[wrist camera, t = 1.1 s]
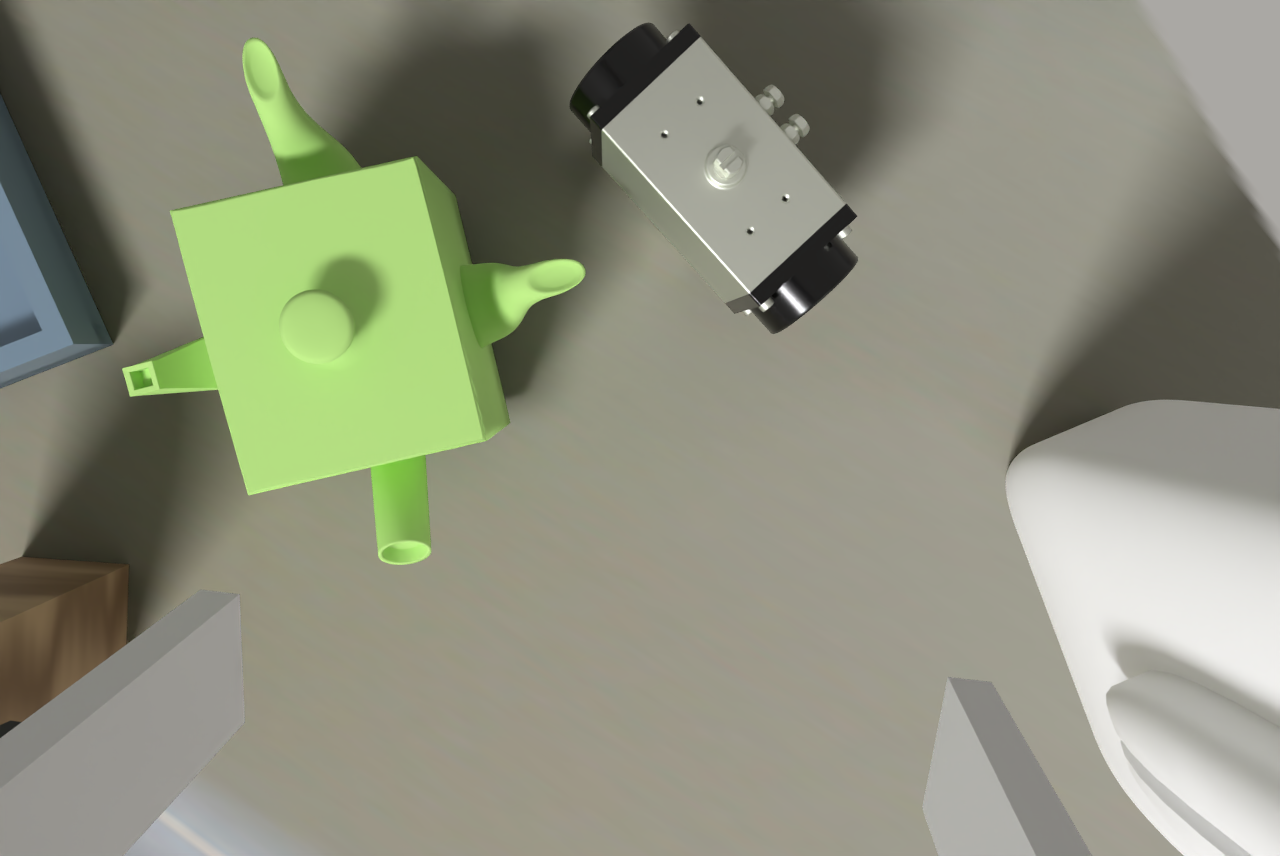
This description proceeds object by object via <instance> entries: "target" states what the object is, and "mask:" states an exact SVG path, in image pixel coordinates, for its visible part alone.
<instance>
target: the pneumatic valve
mask: <svg viewBox="0 0 1280 856" xmlns="http://www.w3.org/2000/svg"><path fill="white" fill-rule="evenodd" d="M763 92H764V95H763V94H760V95H757V96H756V97H755V98H754V97H753V96H752V95H751V94H750V92H749V91H748V90H747V89H746V88H745V87H744V86H743V84H742V83H741V82H740V81H739V80H738V79H737V78H736V76H735V75H734V74H733V73H732V72H731V71H730V69H729V68H728V67H727V66H726V65H725V64H724V63H723V61H722V60H721V59H720V58H719V57H718V56H717V55H716V53H715V52H714V51H713V50H712V49H711V48H710V47H709V45H708V44H707V43H706V42H705V41H704V40H703V39H702V37H701V36H700V35H699V34H698V33H697V32H696V30H695V29H694V28H693V27H692V26H691V25H690V24H687V25H686V26H685V27H684V28H683V29H682V30H681V31H680V32H679V31H678V30H675V31H674V32H672V33H671V34H670V35H669V37H668V38H667V39H666V38H665V37H664V36H663V35H662V34H661V32H660V31H659V30H658V29H657V28H656V27H655V25H654V24H652V23H644V24H642V25H640V26H638V27H636V28H634V29H633V30H631V31H630V32H629V33H627V34H626V35H625V36H623V37H622V38H621V39H620V40H618V41H617V42H616V43H615V44H614V45H613V46H612V47H611V48H610V49H609V50H608V51H607V52H606V53H605V54H604V55H603V56H602V57H601V58H600V59H599V60H598V61H597V62H596V63H595V64H594V66H593V67H592V68H591V69H590V70H589V71H588V73H587V74H586V75H585V77H584V78H583V79H582V81H581V82H580V84H579V85H578V87H577V88H576V90H575V91H574V93H573V95H572V98H571V100H570V104H569V107H570V110H571V111H572V112H573V113H574V115H575V116H576V117H577V118H578V119H579V120H580V121H581V122H582V123H583V124H584V126H585V127H586V128H587V129H588V130H589V131H590V132H591V139H590V140H589V142H590V144H591V145H592V156H593V157H594V159H595V160H596V161H597V162H598V163H599V164H600V165H601V166H602V167H603V169H604V170H605V171H606V172H607V173H608V174H609V175H610V176H611V177H612V179H613V180H614V181H615V182H616V183H617V184H618V185H619V186H620V187H621V188H622V190H623V191H624V192H625V193H626V194H627V195H628V196H629V197H630V198H631V200H632V201H633V202H634V203H635V204H636V205H637V206H638V207H639V208H640V210H641V211H642V212H643V213H644V214H645V215H646V216H647V217H648V218H649V220H650V221H651V222H652V223H653V224H654V225H655V226H656V227H657V228H658V230H659V231H660V232H661V233H662V234H663V235H664V236H665V237H666V238H667V239H668V241H669V242H670V243H671V244H672V245H673V246H674V247H675V248H676V249H677V251H678V252H679V253H680V254H681V255H682V256H683V257H684V258H685V259H686V261H687V262H688V263H689V264H690V265H691V266H692V267H693V268H694V269H695V271H696V272H697V273H698V274H699V275H700V276H701V277H702V278H703V279H704V281H705V282H706V283H707V284H708V285H709V286H710V287H711V288H712V289H713V290H714V292H715V293H716V294H717V295H718V296H719V297H720V298H721V299H722V300H723V302H724V303H725V304H726V305H727V306H728V307H729V308H730V309H731V310H732V312H733V313H734V314H735V313H739V312H743V313H744V315H745V316H748V315H749V314H750V313H751V312H753V314H754V315H755V316H756V317H757V318H758V319H759V320H760V321H761V322H762V324H763V325H764V326H765V327H766V328H767V329H768V330H769V331H770V333H772V334H775V333H778V332H780V331H782V330H784V329H785V328H787V327H788V326H790V325H791V324H792V323H794V322H795V321H797V320H798V319H799V318H800V317H802V316H803V315H804V314H805V313H807V312H808V311H809V310H810V309H812V308H813V307H814V306H815V305H816V304H817V303H819V302H820V301H821V300H822V299H823V298H824V297H825V296H826V295H827V294H829V293H830V292H831V291H832V290H833V289H834V288H835V287H836V286H837V285H838V284H839V283H840V282H841V281H842V280H843V279H844V278H845V277H846V276H847V275H848V274H849V272H850V271H851V270H852V269H853V268H854V266H855V265H856V263H857V261H858V257H857V256H856V255H855V254H854V253H853V251H852V250H851V249H850V248H849V247H848V246H847V245H846V243H845V242H844V241H843V239H844V238H845V237H846V236H847V235H849V234H850V233H851V231H852V229H851V228H850V227H849V226H848V225H849V224H850V223H851V222H852V221H853V220H854V219H855V218H856V217H857V215H856V214H855V213H854V212H853V211H852V209H851V208H850V207H849V206H848V205H847V204H846V203H845V201H844V200H843V199H842V198H841V197H840V196H839V195H838V193H837V192H836V191H835V190H834V189H833V188H832V187H831V185H830V184H829V183H828V182H827V181H826V180H825V178H824V177H823V176H822V175H821V174H820V173H819V172H818V170H817V169H816V168H815V167H814V166H813V165H812V164H811V162H810V161H809V160H808V159H807V158H806V157H805V156H804V154H803V153H802V152H801V151H800V150H799V149H798V148H797V146H796V144H797V143H798V142H799V139H800V137H799V136H802V137H804V136H806V135H807V134H808V132H809V129H810V128H809V125H808V123H807V122H806V120H805V119H804V118H803V117H802V116H801V115H799V114H794V115H792V116H791V117H790V118H789V119H788V121H789V124H788V123H785V124H782V125H781V126H780V127H779V126H778V125H777V123H776V122H775V121H774V120H773V119H772V118H771V117H770V116H771V115H772V114H773V113H774V107H776V108H780V107H781V106H782V105H783V103H784V96H783V94H782V93H781V92H780V90H779V89H778V88H777V87H776V86H774V85H769V86H767V87H766V88H765V89H764V90H763Z"/></svg>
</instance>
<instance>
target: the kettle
mask: <svg viewBox="0 0 1280 856" xmlns="http://www.w3.org/2000/svg"><path fill="white" fill-rule="evenodd" d="M243 70H244V75H245V80H246V83H247V86H248V89H249V92H250V95H251V97H252V100H253V102H254V104H255V107H256V109H257V111H258V114H259V116H260V119H261V121H262V123H263V126H264V128H265V131H266V133H267V136H268V138H269V141H270V144H271V146H272V149H273V152H274V155H275V158H276V161H277V164H278V168H279V171H280V175H281V178H282V182H283V186H279V187H274V188H270V189H265V190H261V191H256V192H252V193H247V194H243V195H238V196H234V197H229V198H225V199H220V200H216V201H211V202H207V203H202V204H198V205H193V206H189V207H184V208H180V209H175V210H171V211H170V213H171V216H172V220H173V224H174V227H175V231H176V235H177V239H178V243H179V247H180V250H181V254H182V258H183V262H184V266H185V269H186V273H187V277H188V281H189V284H190V288H191V292H192V296H193V299H194V303H195V307H196V310H197V314H198V318H199V321H200V325H201V329H202V333H203V336H204V337H202V338H199V339H197V340H195V341H192V342H190V343H187V344H185V345H182V346H180V347H178V348H175V349H173V350H170V351H168V352H165V353H163V354H160V355H158V356H156V357H153V358H151V359H148V360H146V361H143V362H141V363H138V364H136V365H133V366H129V367H126V368H122V370H123V373H124V377H125V380H126V384H127V387H128V391H129V394H130V397H131V396H141V395H154V394H167V393H181V392H194V391H207V390H219V394H220V398H221V401H222V405H223V408H224V412H225V415H226V419H227V423H228V426H229V430H230V433H231V437H232V440H233V444H234V447H235V451H236V454H237V458H238V461H239V465H240V468H241V471H242V475H243V478H244V482H245V486H246V489H247V493H248V495H252V494H256V493H261V492H265V491H269V490H274V489H278V488H282V487H287V486H291V485H296V484H300V483H304V482H309V481H313V480H317V479H322V478H326V477H331V476H335V475H339V474H344V473H348V472H352V471H357V470H361V469H366V468H370V467H371V478H372V489H373V500H374V512H375V523H376V534H377V545H378V557H379V558H380V560H382V561H383V562H386V563H389V564H395V565H405V564H412V563H416V562H419V561H422V560H424V559H426V558H427V557H428V556H429V555H430V554H431V538H430V522H429V506H428V490H427V474H426V458H425V455H427V454H431V453H436V452H440V451H444V450H449V449H453V448H457V447H462V446H466V445H470V444H475V443H479V442H484V441H487V440H488V439H490V438H491V437H492V436H494V435H495V434H496V433H498V432H499V431H500V430H502V429H503V428H504V427H506V426H507V425H508V424H509V423H510V419H509V415H508V410H507V406H506V402H505V398H504V394H503V389H502V385H501V381H500V377H499V373H498V369H497V364H496V360H495V356H494V352H493V348H492V344H491V343H493V342H495V341H497V340H500V339H502V338H504V337H506V336H507V335H509V334H510V333H512V332H513V331H514V330H515V329H516V328H517V327H518V326H519V324H520V323H521V322H522V320H523V318H524V316H525V314H526V313H527V311H528V309H529V308H530V307H531V306H532V305H533V304H535V303H536V302H538V301H540V300H542V299H545V298H548V297H552V296H555V295H558V294H561V293H563V292H565V291H568V290H570V289H572V288H573V287H575V286H576V285H578V284H579V283H580V282H581V281H582V280H583V278H584V276H585V268H584V266H583V265H582V264H581V263H580V262H578V261H575V260H571V259H552V260H545V261H541V262H537V263H533V264H530V265H525V266H518V267H515V266H509V265H506V264H500V263H481V264H473V265H472V261H471V257H470V253H469V249H468V245H467V241H466V237H465V233H464V229H463V224H462V220H461V216H460V212H459V208H458V204H457V200H456V196H455V195H454V194H453V193H452V192H451V190H450V189H449V188H448V187H447V186H446V185H445V184H444V183H443V182H442V181H441V180H440V179H439V178H438V177H437V176H436V175H435V174H434V173H433V172H432V171H431V170H430V169H429V168H428V167H427V166H426V165H425V164H424V163H423V162H422V161H421V160H420V159H419V158H418V157H417V156H414V157H409V158H405V159H400V160H396V161H391V162H387V163H382V164H378V165H373V166H369V167H364V168H361V167H360V166H359V164H358V163H357V161H356V160H355V159H354V157H353V156H352V155H351V154H350V153H349V152H348V151H347V150H346V148H345V147H344V146H342V145H341V144H340V143H339V142H338V141H337V140H336V139H334V138H333V137H332V136H331V135H330V134H328V133H327V132H326V131H325V130H324V129H323V128H321V127H320V126H319V125H318V124H317V123H316V122H315V121H314V120H313V119H312V118H311V117H310V116H309V115H308V114H307V113H306V112H305V111H304V110H303V108H302V107H301V106H300V104H299V103H298V102H297V100H296V99H295V97H294V95H293V94H292V92H291V90H290V88H289V86H288V84H287V82H286V79H285V77H284V75H283V73H282V70H281V68H280V66H279V64H278V62H277V60H276V58H275V56H274V54H273V53H272V51H271V50H270V48H269V47H268V46H267V45H266V44H265V43H264V42H263V41H262V40H260V39H258V38H250V39H249V40H247V42H246V43H245V45H244V49H243Z"/></svg>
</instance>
